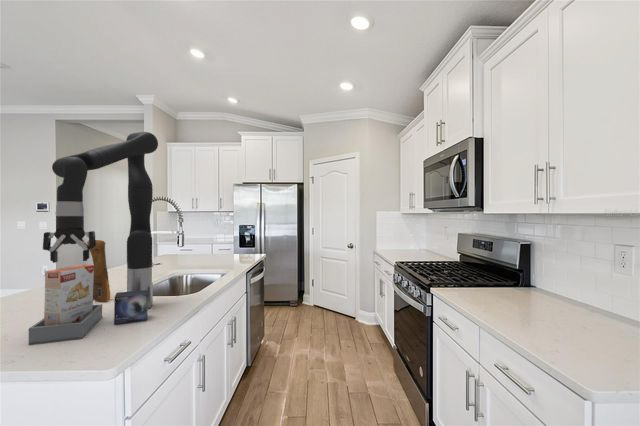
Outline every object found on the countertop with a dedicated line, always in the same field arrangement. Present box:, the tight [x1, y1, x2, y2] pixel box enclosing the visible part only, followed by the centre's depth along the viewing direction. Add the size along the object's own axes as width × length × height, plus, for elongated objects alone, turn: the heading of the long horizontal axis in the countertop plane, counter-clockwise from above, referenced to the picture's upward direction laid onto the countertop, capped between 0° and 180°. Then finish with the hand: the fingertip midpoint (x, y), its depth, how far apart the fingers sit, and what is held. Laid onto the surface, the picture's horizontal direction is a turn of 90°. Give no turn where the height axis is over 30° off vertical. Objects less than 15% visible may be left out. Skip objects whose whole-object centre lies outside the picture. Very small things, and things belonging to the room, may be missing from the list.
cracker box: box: [43, 264, 94, 326], centre depth 107 cm, size 14×6×21 cm, turn 177°
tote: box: [28, 304, 103, 346], centre depth 107 cm, size 14×22×5 cm, turn 21°
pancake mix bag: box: [86, 239, 111, 303], centre depth 144 cm, size 7×19×28 cm, turn 48°
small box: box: [113, 290, 148, 326], centre depth 116 cm, size 11×6×10 cm, turn 118°
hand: (70, 261), depth 107 cm, fingers open, 8 cm apart
